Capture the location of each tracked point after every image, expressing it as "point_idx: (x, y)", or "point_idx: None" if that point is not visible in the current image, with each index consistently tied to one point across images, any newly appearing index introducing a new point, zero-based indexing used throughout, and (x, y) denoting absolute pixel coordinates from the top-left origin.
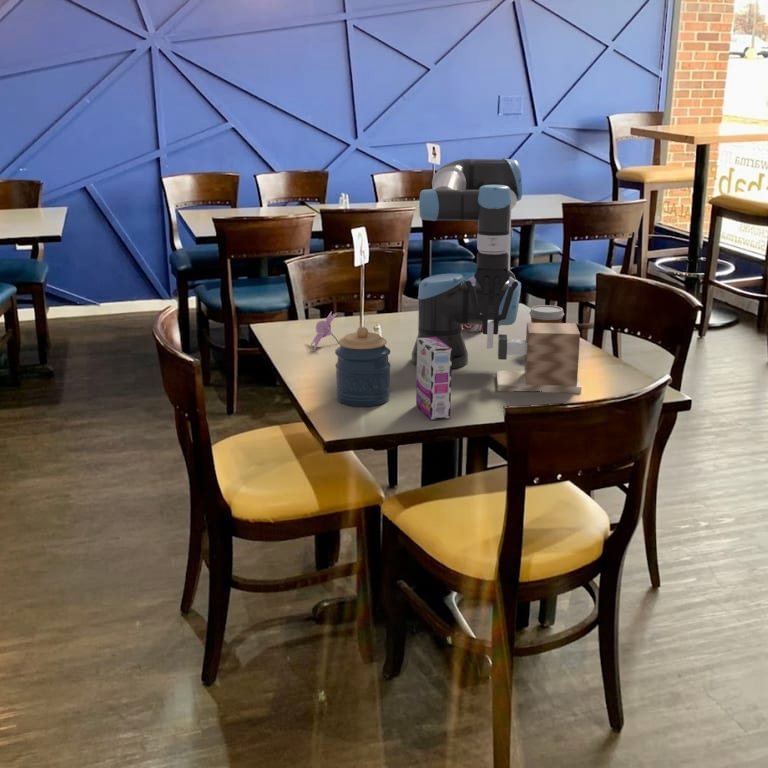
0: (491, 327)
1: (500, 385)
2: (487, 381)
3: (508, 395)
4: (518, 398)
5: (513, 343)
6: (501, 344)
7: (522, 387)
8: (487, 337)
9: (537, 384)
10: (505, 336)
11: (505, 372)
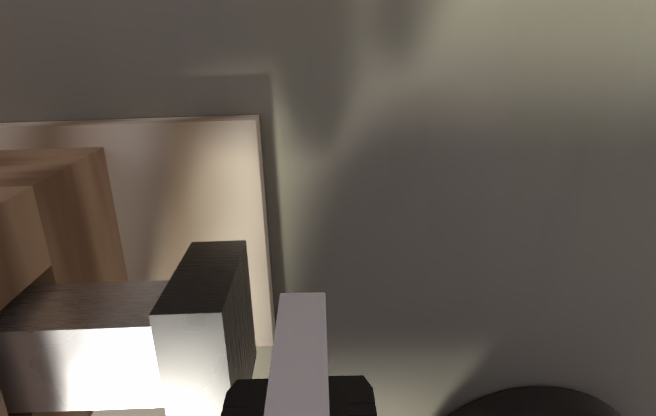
0: (286, 409)
1: (242, 120)
2: (315, 256)
3: (199, 50)
4: (142, 4)
5: (113, 324)
6: (207, 293)
7: (126, 122)
8: (323, 343)
9: (45, 148)
10: (176, 407)
11: None
